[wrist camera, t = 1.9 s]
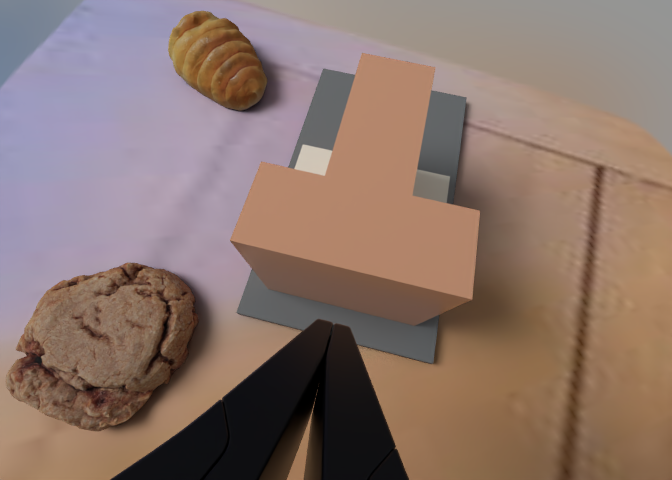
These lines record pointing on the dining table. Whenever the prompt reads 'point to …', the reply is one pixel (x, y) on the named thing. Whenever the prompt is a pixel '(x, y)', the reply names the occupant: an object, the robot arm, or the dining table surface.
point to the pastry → (217, 60)
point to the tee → (364, 212)
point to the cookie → (103, 345)
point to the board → (430, 183)
